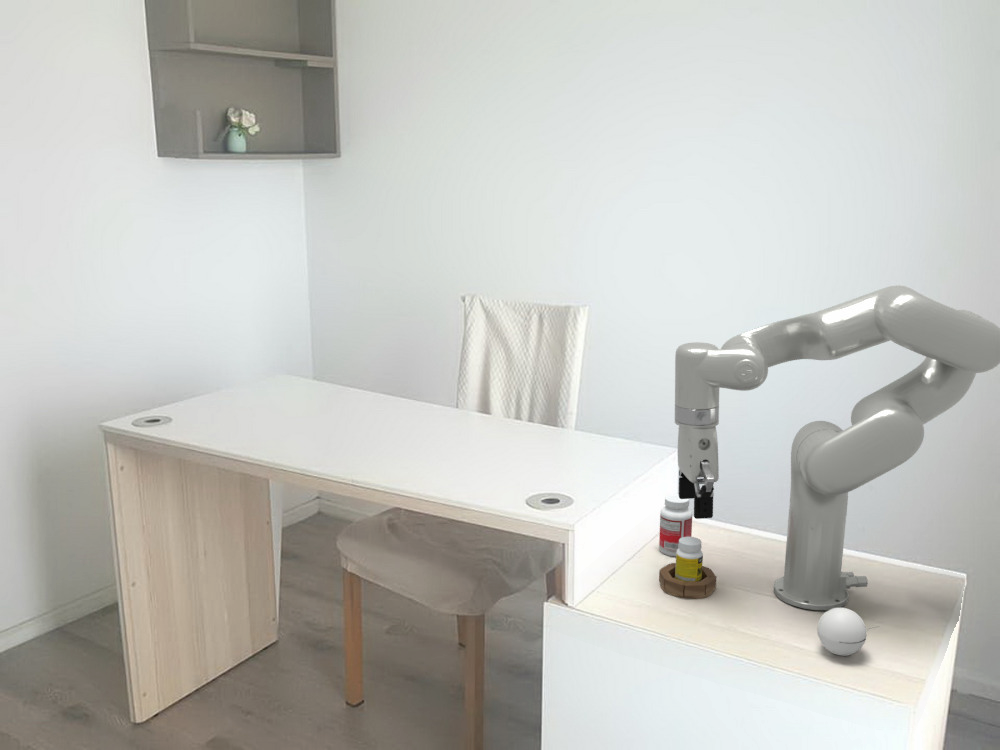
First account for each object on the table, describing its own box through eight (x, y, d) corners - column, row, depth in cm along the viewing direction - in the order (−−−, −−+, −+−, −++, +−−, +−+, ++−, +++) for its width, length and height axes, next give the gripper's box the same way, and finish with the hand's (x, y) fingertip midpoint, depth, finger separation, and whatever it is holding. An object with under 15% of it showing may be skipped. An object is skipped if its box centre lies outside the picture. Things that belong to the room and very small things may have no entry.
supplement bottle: (701, 591, 174) (703, 547, 172) (674, 588, 175) (676, 544, 173) (701, 579, 179) (703, 536, 177) (675, 577, 180) (677, 534, 178)
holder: (705, 574, 182) (705, 561, 182) (720, 598, 173) (721, 584, 173) (654, 576, 182) (655, 563, 181) (667, 600, 172) (668, 586, 172)
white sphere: (824, 665, 151) (828, 621, 149) (809, 641, 158) (812, 599, 157) (889, 664, 151) (893, 621, 150) (871, 641, 158) (875, 599, 157)
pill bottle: (683, 543, 197) (685, 491, 194) (695, 555, 191) (698, 502, 188) (654, 546, 195) (656, 493, 193) (665, 558, 189) (668, 504, 187)
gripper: (733, 427, 162) (731, 524, 166) (703, 400, 179) (701, 490, 182) (689, 429, 161) (687, 527, 165) (662, 403, 178) (662, 492, 182)
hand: (695, 507), depth 174 cm, fingers open, 9 cm apart
